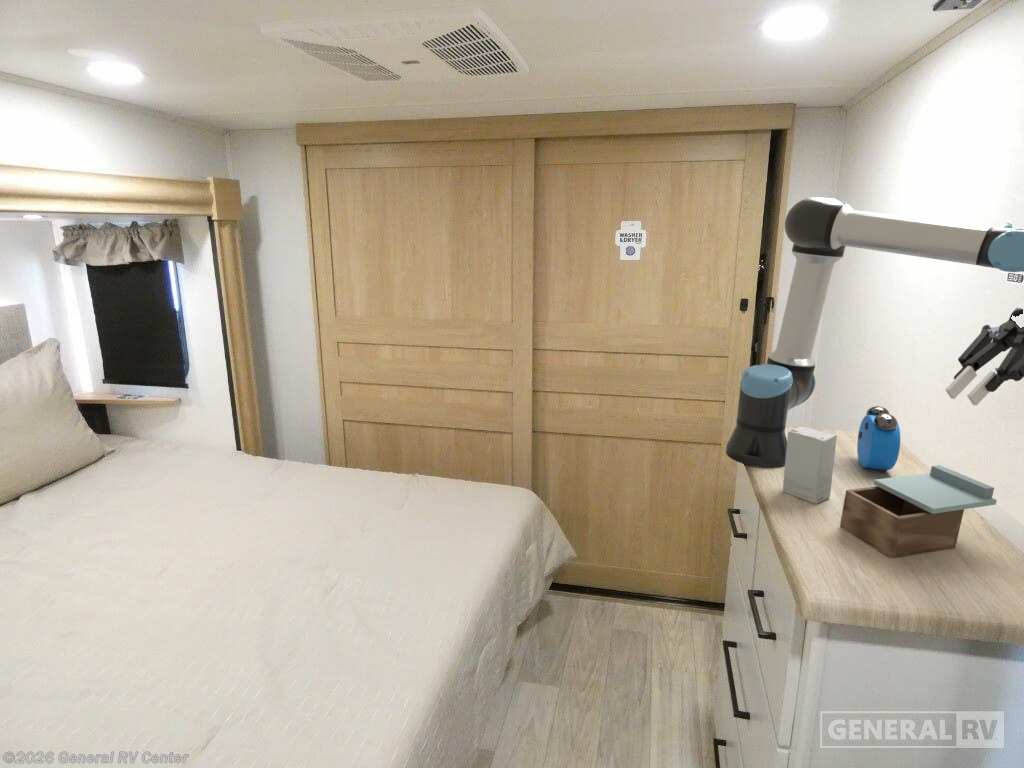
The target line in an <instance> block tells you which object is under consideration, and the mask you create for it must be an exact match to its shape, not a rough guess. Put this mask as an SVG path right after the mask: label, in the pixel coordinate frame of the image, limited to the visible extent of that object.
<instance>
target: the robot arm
mask: <svg viewBox="0 0 1024 768" xmlns="http://www.w3.org/2000/svg"><path fill="white" fill-rule="evenodd" d="M1009 222H1010V221H1007V222H1006V223H1005V224H1004V225H1002V226H991V225H984V224H976V223H965V222H958V221H950V220H949V221H947V220H939V219H932V218H924V217H922V218H921V217H914V216H906V215H905V216H904V215H896V214H895V215H894V214H886V213H878V212H870V211H861V210H854V209H853V208H852V206H851V205H850V204H848V203H847V202H845V201H843V200H841V199H839V198H834V197H821V196H820V197H819V196H811V197H807V198H804V199H801V200H799V201H798V202H796V203H795V204H794V205H792V207H791V208H790V209H789V210H788V212H787V214H786V217H785V219H784V230H785V234H786V237H787V238H788V239H789V241H790V242H792V243H793V244H792V249H791V254H792V255H793V256H794V257H795V259H796V261H795V266H794V270H793V274H792V277H791V282H790V287H789V292H788V296H787V298H786V299H787V300H786V305H785V309H784V314H783V317H782V322H781V325H780V326H781V327H780V330H779V334H778V335H779V336H778V339H777V344H776V349H775V350H774V351H772V352H770V353H769V354H768V355H767V360H766V364H765V363H764V364H760V365H759V364H754V365H751V366H749V367H746V368H745V370H744V371H742V376H741V378H740V382H739V385H740V386H739V395H738V396H739V397H738V405H737V414H736V415H737V416H736V424H735V427H734V429H733V431H732V433H731V436H730V437H729V440H728V442H727V443H726V449H725V453H726V456H727V457H728V458H730V459H731V460H733V461H735V462H737V463H740V464H744V465H746V466H751V467H756V466H758V468H780V467H785V460H786V449H787V436H786V427H787V419H788V411H789V410H791V409H793V408H794V407H798V406H800V405H802V404H804V403H805V402H806V401H807V400H808V399H809V398H810V397H811V396H812V394H813V393H814V391H815V389H816V383H817V380H816V376H815V373H814V372H815V368H816V364H817V363H816V360H815V359H814V358H813V357H812V353H813V349H814V346H815V342H816V338H817V333H818V331H819V327H820V321H821V319H822V313H823V310H824V306H825V302H826V297H827V293H828V291H829V285H830V282H831V279H832V278H831V277H832V272H833V268H834V266H835V264H836V263H837V262H839V261H840V260H841V259H843V257H844V254H845V251H846V247H850V248H855V249H865V250H870V251H876V252H877V251H878V252H885V253H892V254H897V255H905V256H912V257H919V258H925V259H932V260H940V261H947V262H953V263H959V264H960V263H961V264H966V265H973V266H980V267H985V268H991V269H996V270H997V269H998V270H999V271H1003V272H1009V273H1020V272H1024V229H1013V228H1012V224H1010V223H1009ZM1020 314H1023V309H1021V308H1017V307H1016V308H1015V309H1014V310H1013V311H1012V312H1011V314H1010V315H1009V316H1010V317H1009V318H1008V320H1006V321H1005V322H1003V323H1001V324H1000V325H999V326H993V327H992V326H990V325H989V324H985V325H983V326H982V328H981V331H980V333H979V334H978V335H977V337H975V339H974V340H973V341H972V342H971V343H970V345H969V346H968V347H966V349H965V350H964V351H963V352H962V354H961V355H960V356H959V357H958V358H957V361H958V363H960V366H961V367H962V368H960V370H958V372H957V373H956V374H955V375H954V377H953V381H952V382H951V383H950V384H949V385H948V386H947V387H946V388H945V390H944V391H946V393H947V395H948V396H949V398H950V399H951V400H952V399H953V400H955V399H956V398H957V397H958V396H959V395H960V394H961V393H962V392H963V391H964V390H965V389H966V388H967V387H968V386H969V384H971V383H972V381H974V380H975V378H976V377H977V376H978V374H977V373H976V372H978V370H980V369H981V368H983V367H984V366H985V365H986V364H988V363H989V362H990V361H991V360H993V359H994V358H996V357H997V356H998V355H999V354H1001V353H1002V352H1003V353H1004V352H1006V351H1007V350H1009V351H1008V353H1007V354H1006V355H1005V357H1004V359H1003V360H1002V361H1001V363H1000V365H999V366H998V367H995V368H994V369H995V371H996V372H995V371H992V370H991V371H989V372H988V373H987V374H986V375H985V376H984V377H983V379H981V381H979V383H978V384H977V385H976V386H974V387H973V389H972V390H971V391H970V392H969V393H968V394H967V395H966V396H967V398H968V399H969V401H970V403H971V404H972V406H976V407H977V406H978V405H979V404H980V403H981V402H982V400H983V399H985V398H986V396H987V395H988V394H989V393H994V392H995V391H997V390H998V389H999V387H1000V386H1002V385H1003V384H1004V382H1007V381H1010V380H1013V381H1014V382H1019V381H1021V380H1022V379H1023V378H1024V327H1022V328H1020V327H1019V326H1018V325H1017V324H1016V322H1015V321H1013V320H1012V319H1011V317H1012V315H1013V316H1015V317H1016V316H1019V315H1020Z"/></svg>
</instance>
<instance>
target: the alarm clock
mask: <svg viewBox="0 0 1024 768" xmlns="http://www.w3.org/2000/svg"><path fill="white" fill-rule="evenodd" d="M865 414H866V415H865V416H864V417H863V418H862V420H861V422H860V424H859V429H858V435H857V445H856V446H857V458H858V462H859V464H860V466H861V467H862V468H864V469H865V468H866V469H873V470H874V469H875V470H883V471H884V472H885V474H887V475H888V471H890V470H892V469H893V468H894V467H895V465H896V464H897V461H898V459H899V455H900V449H901V431H900V430H901V429H900V425H899V422H898V420H897V418H896V417H895V416H894V415H892V414H890V411H889V410H888V409H887V408H886V407H883V406H880V405H877V406H871V407H869V408H868V409H867V410H866V413H865Z"/></svg>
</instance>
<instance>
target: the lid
mask: <svg viewBox="0 0 1024 768" xmlns="http://www.w3.org/2000/svg"><path fill="white" fill-rule="evenodd" d="M873 485H874V486H875V487H876V486H878V487H880V488H882V489H884V490H886V491H888V492H890V493H892V494H894V495H896V496H898V497H900V498H902V499H904V500H906V501H908V502H910V503H912V504H914V505H916V506H918V507H920V508H922V509H924V510H926V511H928V512H930V513H932V514H935V513H942V512H949V511H955V510H962V509H964V510H968V509H975V508H976V509H977V508H982V507H990V506H995V505H996V504H997V501H998V500H997V499H996V498H994V497H993V494H994V491H995V487H993V486H991V485H988V484H986V483H984V482H981V481H979V480H976V479H974V478H971V477H969V476H967V475H964V474H961V473H959V472H957V471H955V470H952V469H950V468H948V467H946V466H942V465H941V464H938V465H931V467H930V472H927V473H918V474H911V475H904V476H903V475H901V476H894V477H893V476H892V477H887V478H886V477H884V478H879V479H878V478H877V479H874V480H873Z"/></svg>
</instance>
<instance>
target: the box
mask: <svg viewBox="0 0 1024 768" xmlns="http://www.w3.org/2000/svg"><path fill="white" fill-rule="evenodd" d="M843 500H844V502H843V505H842V510H841V511H842V512H841V517H840V518H841V519H840V524H839V528H841V529H842V530H844V531H846V532H847V533H849V534H851V535H852V536H854V537H855V538H856V539H858V540H860V541H861V542H864V543H865V544H867V545H868V546H870V547H871V548H873V549H875V550H876V551H878V552H879V553H881V554H882V555H884V556H885V557H887V558H889V559H898V558H903V557H909V556H916V555H922V554H928V553H934V552H939V551H945V550H946V551H947V550H952V549H956V546H957V542H958V537H959V534H960V529H961V525H962V521H963V516H964V512H965V509H962V510H955V511H949V512H942V513H935V514H932V513H930V512H928V511H926V510H924V509H922V508H920V507H918V506H916V505H914V504H912V503H910V502H908V501H906V500H904V499H902V498H900V497H898V496H896V495H894V494H892V493H890V492H888V491H886V490H884V489H882V488H880V487H878V486H876V485H875V486H870V487H862V488H854V489H847V490H845V494H844V499H843Z"/></svg>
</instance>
